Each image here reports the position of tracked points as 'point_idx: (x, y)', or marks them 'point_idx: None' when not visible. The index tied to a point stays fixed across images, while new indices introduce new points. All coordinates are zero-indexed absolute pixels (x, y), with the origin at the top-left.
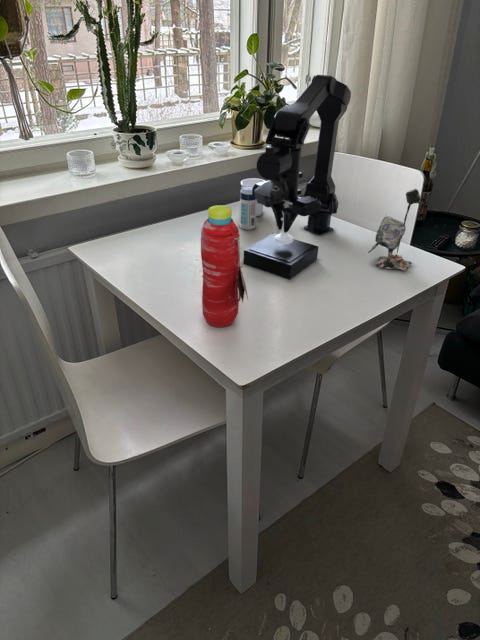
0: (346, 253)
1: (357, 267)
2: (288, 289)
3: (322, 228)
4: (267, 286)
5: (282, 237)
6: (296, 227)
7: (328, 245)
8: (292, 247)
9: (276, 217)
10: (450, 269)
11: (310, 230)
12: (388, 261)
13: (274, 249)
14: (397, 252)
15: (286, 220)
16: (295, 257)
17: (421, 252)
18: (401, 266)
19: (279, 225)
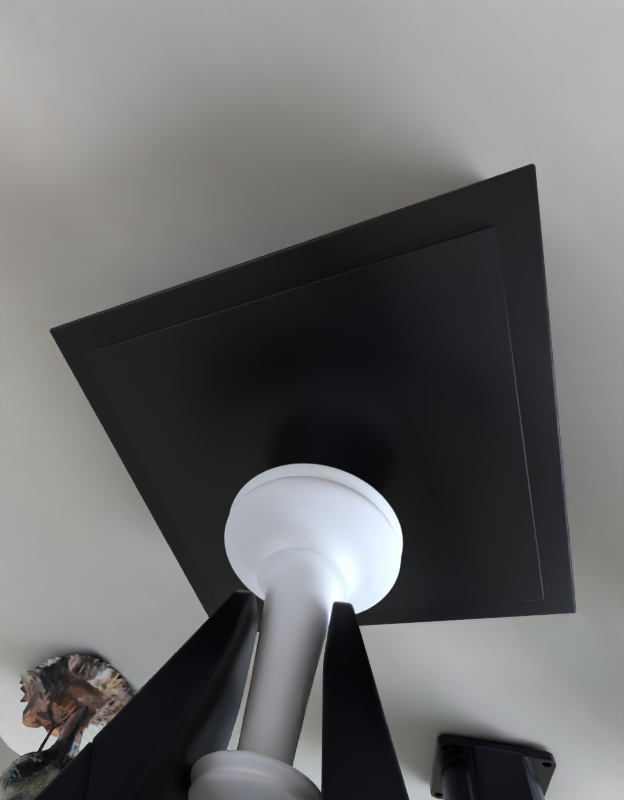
0: None
1: (115, 612)
2: (31, 217)
3: (449, 782)
4: (106, 112)
5: (279, 534)
6: (594, 746)
7: None
8: None
9: (357, 792)
10: (10, 738)
11: (496, 749)
12: (54, 691)
13: (326, 416)
14: (40, 747)
15: (72, 775)
16: (132, 436)
17: None
18: (31, 688)
19: (326, 653)
